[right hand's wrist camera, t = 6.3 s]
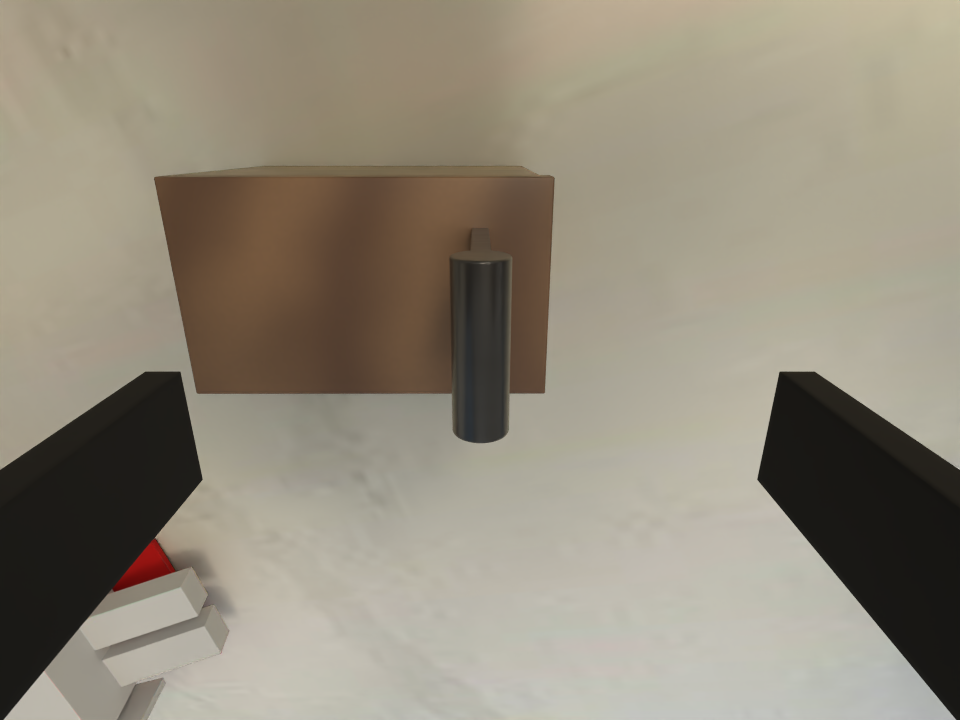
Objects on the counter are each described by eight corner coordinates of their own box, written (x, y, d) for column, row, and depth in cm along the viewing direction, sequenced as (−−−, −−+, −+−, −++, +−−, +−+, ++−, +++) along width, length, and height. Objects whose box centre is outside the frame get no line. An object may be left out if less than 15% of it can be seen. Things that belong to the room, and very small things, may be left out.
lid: (550, 175, 24) (591, 192, 15) (542, 383, 27) (571, 493, 18) (169, 175, 24) (-8, 192, 15) (208, 383, 27) (82, 494, 18)
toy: (218, 738, 37) (-227, 890, 36) (264, 595, 50) (-66, 706, 49) (128, 601, 33) (-376, 768, 32) (203, 483, 46) (-158, 601, 45)
